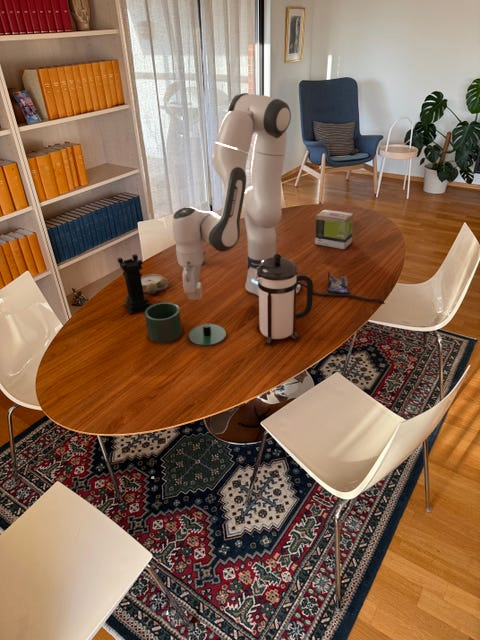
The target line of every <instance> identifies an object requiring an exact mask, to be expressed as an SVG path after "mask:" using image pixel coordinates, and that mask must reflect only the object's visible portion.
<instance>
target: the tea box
mask: <svg viewBox="0 0 480 640" xmlns="http://www.w3.org/2000/svg"><path fill="white" fill-rule="evenodd" d="M354 216H355V213H353V212H345V211H339V210H331V209H323V210H322V211H320V212H318V213H317V214H316V215H315V236H314V238H315V239H314V245H318V246H323V247H324V246H325V247H328V248H334V249H339V250H345V249H347V248H348V247H349V246H350V245H351V244H352V242H353V241H352V240H353V229H354Z"/></svg>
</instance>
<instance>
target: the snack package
mask: <svg viewBox="0 0 480 640" xmlns="http://www.w3.org/2000/svg"><path fill="white" fill-rule="evenodd" d="M327 280H328V281H327V285H326V290H327V292H328V293H329V292H336V294H350V288H348V283H349V281H348V278H347V276H346V275H344V274H341V279H340V278H338V277H335V276H334V275H332V274H331V272H330V271H327Z"/></svg>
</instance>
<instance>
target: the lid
mask: <svg viewBox="0 0 480 640" xmlns="http://www.w3.org/2000/svg"><path fill="white" fill-rule="evenodd" d="M226 337H227V331H226V330H225V328H224V327H223V326H220V325H219V324H213V323H204V324H201V325H198V326H196V327H193V328H192V329H191V330H190V331H189V333H188V340H189V341H190V343H192V344H193V345H196V346H199V347H212V346H216V345H218V344H220V343H222V342H223V341H224V340H225V339H226Z"/></svg>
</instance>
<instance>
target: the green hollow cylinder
mask: <svg viewBox="0 0 480 640" xmlns="http://www.w3.org/2000/svg"><path fill="white" fill-rule="evenodd" d="M144 318H145V319H144V320H145V322H146V329H147V335H148V338H149V339H150V340H151V341H152V342H155V343H162V344H163V343H164V344H165V343H169V342H173V341H176V340H178V339H179V338H180V336H182V334H183V324H182V318H181V310H180V307H179V305H177V304H175V303H173V302H158V303H154V304H152V305H150V307H149V308H147V309H146V311H144Z"/></svg>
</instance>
